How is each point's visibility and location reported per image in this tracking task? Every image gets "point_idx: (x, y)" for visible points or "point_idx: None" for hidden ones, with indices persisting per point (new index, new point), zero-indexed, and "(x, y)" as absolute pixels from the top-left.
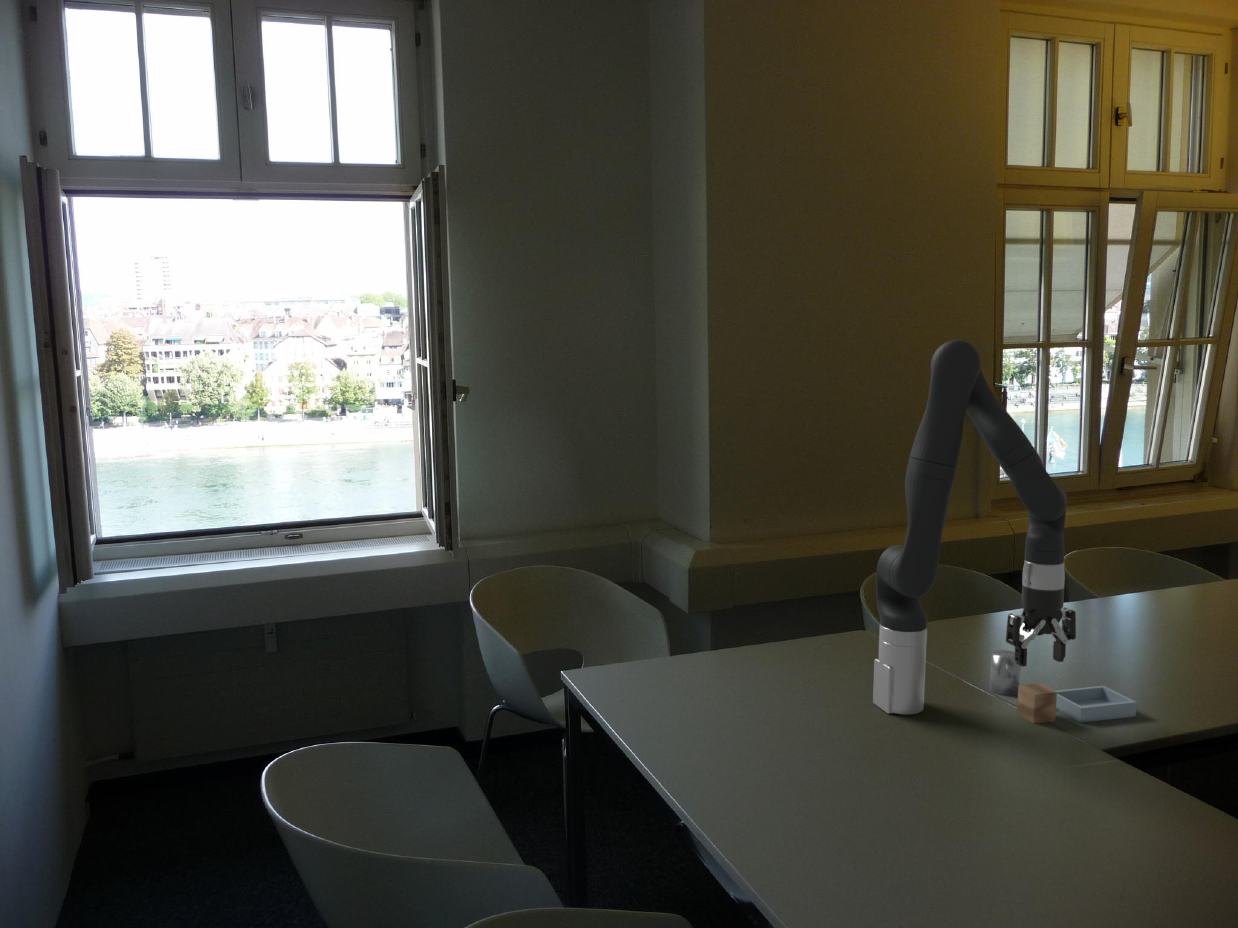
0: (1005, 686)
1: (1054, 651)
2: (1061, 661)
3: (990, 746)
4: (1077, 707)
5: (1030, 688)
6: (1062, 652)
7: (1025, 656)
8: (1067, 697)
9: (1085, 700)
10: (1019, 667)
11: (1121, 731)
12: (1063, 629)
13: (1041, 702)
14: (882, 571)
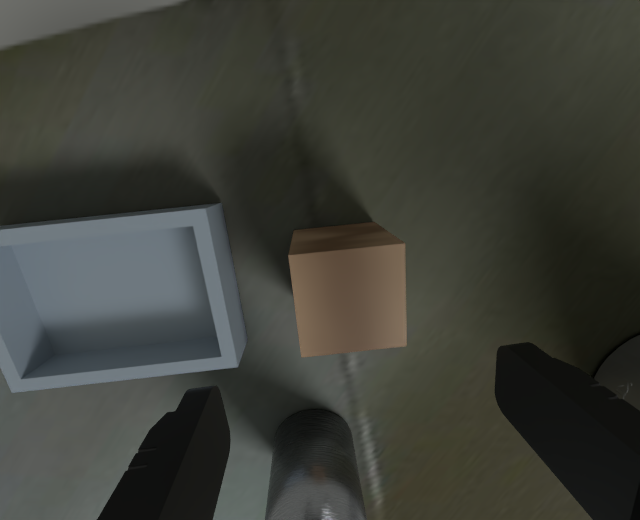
0: (335, 435)
1: (214, 489)
2: (204, 387)
3: (616, 77)
4: (211, 226)
5: (378, 309)
6: (173, 444)
7: (575, 391)
8: (179, 348)
9: (118, 346)
10: (288, 499)
11: (111, 121)
12: None
13: (359, 239)
14: None
